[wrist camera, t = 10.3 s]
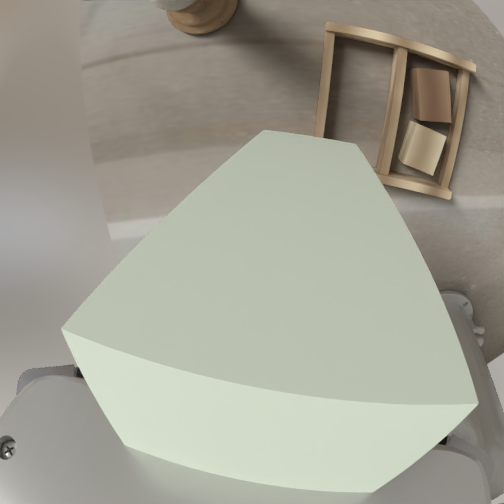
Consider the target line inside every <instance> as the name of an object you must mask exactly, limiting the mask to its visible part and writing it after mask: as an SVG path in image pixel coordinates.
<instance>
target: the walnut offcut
mask: <svg viewBox="0 0 504 504" xmlns="http://www.w3.org/2000/svg"><path fill="white" fill-rule="evenodd" d="M409 71H410V81H411V92H412V107H413V118H415V119H417V120H420V121H435V122H449V123H451V98H450V83H449V71H442V70H433V69H423V68H413V69H409Z"/></svg>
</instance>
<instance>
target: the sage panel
mask: <svg viewBox="0 0 504 504" xmlns="http://www.w3.org/2000/svg"><path fill="white" fill-rule="evenodd" d="M61 330H62V332H63V335H64V337H65V339H66V342H67V344H68V346H69V348H70V350H71V352H72V354H73V357H74V359H75V361H76V363H77V365H78V367H79V369H80V371H81V373H82V375H83V377H84V378H85V380H86V382H87V384H88V386H89V388H90V390H91V391H92V393H93V395H94V397H95V398H96V400H97V402H98V404H99V405H100V407H101V409H102V410H103V412H104V414H105V415H106V417H107V419H108V420H109V422H110V424H111V425H112V427H113V428H114V430H115V431H116V433H117V434H118V436H119V437H120V439H121V440H122V442H123V443H124V445H126V446H129V447H131V448H134V449H136V450H139V451H142V452H144V453H147V454H150V455H153V456H156V457H158V458H161V459H164V460H167V461H170V462H174V463H177V464H180V465H183V466H187V467H190V468H194V469H197V470H201V471H205V472H209V473H213V474H217V475H221V476H225V477H230V478H234V479H239V480H244V481H249V482H255V483H261V484H267V485H273V486H280V487H287V488H296V489H305V490H317V491H332V492H374V491H376V490H377V489H379V488H380V487H382V486H383V485H385V484H386V483H388V482H389V481H390V480H392V479H393V478H395V477H396V476H397V475H399V474H400V473H402V472H403V471H404V470H406V469H407V468H408V467H410V466H411V465H412V464H413V463H415V462H416V461H417V460H418V459H420V458H421V457H422V456H423V455H425V454H426V453H427V452H428V451H429V450H431V449H432V448H433V447H434V446H435V445H436V444H438V443H439V442H440V441H441V440H442V439H443V438H444V437H446V436H447V435H448V434H449V433H450V432H451V431H452V430H453V429H454V428H455V427H456V426H457V425H458V424H459V423H460V422H461V421H462V420H463V419H464V418H465V417H466V416H467V415H468V414H469V413H470V412H471V411H472V410H473V409H474V408H475V407H476V406H477V405H478V404H479V402H478V399H477V395H476V391H475V388H474V385H473V381H472V378H471V375H470V372H469V369H468V366H467V363H466V360H465V357H464V354H463V351H462V348H461V345H460V342H459V340H458V337H457V334H456V332H455V329H454V327H453V324H452V322H451V319H450V317H449V314H448V312H447V309H446V307H445V304H444V302H443V300H442V297H441V295H440V293H439V291H438V288H437V286H436V284H435V282H434V280H433V277H432V275H431V273H430V271H429V269H428V267H427V265H426V263H425V261H424V259H423V257H422V255H421V253H420V251H419V249H418V247H417V245H416V243H415V241H414V239H413V237H412V235H411V233H410V232H409V230H408V228H407V226H406V224H405V222H404V221H403V219H402V217H401V215H400V213H399V212H398V210H397V208H396V206H395V205H394V203H393V201H392V200H391V198H390V196H389V195H388V193H387V191H386V190H385V188H384V186H383V185H382V183H381V181H380V180H379V178H378V177H377V175H376V173H375V172H374V170H373V169H372V167H371V166H370V164H369V163H368V161H367V160H366V158H365V157H364V155H363V154H362V152H361V151H360V149H359V148H358V146H357V145H356V144H353V143H348V142H343V141H337V140H331V139H326V138H319V137H313V136H307V135H300V134H293V133H285V132H277V131H269V130H263V131H262V132H261V133H259V134H258V135H257V136H256V137H254V138H253V139H252V140H251V141H250V142H248V143H247V144H246V145H245V146H244V147H242V148H241V149H240V150H239V151H238V152H237V153H235V154H234V155H233V156H232V157H231V158H230V159H228V160H227V161H226V162H225V163H224V164H223V165H221V166H220V167H219V168H218V169H217V170H216V171H215V172H214V173H212V174H211V175H210V176H209V177H208V178H207V179H206V180H205V181H203V182H202V183H201V184H200V185H199V186H198V187H197V188H196V189H195V190H194V191H192V192H191V193H190V194H189V195H188V196H187V197H186V198H185V199H184V200H183V201H182V202H181V203H180V204H178V205H177V206H176V207H175V208H174V209H173V210H172V211H171V212H170V213H169V214H168V215H167V216H166V217H165V218H164V219H163V220H162V221H161V222H160V223H159V224H158V225H157V226H156V227H155V228H154V229H153V230H152V231H151V232H150V233H149V234H148V235H147V236H146V237H145V238H144V239H143V240H142V241H141V242H140V243H139V244H138V245H137V246H136V247H135V248H134V249H133V250H132V251H131V252H130V253H129V254H128V255H127V256H126V257H125V258H124V259H123V260H122V261H121V262H120V263H119V264H118V265H117V266H116V267H115V269H114V270H113V271H112V272H111V273H110V274H109V275H108V276H107V277H106V278H105V279H104V280H103V281H102V283H101V284H100V285H99V286H98V287H97V288H96V289H95V290H94V291H93V292H92V293H91V295H90V296H89V297H88V298H87V299H86V300H85V301H84V302H83V304H82V305H81V306H80V307H79V308H78V309H77V311H76V312H75V313H74V314H73V315H72V316H71V318H70V319H69V320H68V321H67V322H66V323H65V325H64V326H63V327H62V328H61Z"/></svg>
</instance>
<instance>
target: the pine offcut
mask: <svg viewBox="0 0 504 504" xmlns="http://www.w3.org/2000/svg"><path fill="white" fill-rule="evenodd" d="M445 140H446V136H444V135H442V134H440V133H438V132H436V131H433V130H431V129H429V128H427V127H425V126H422V125H420V124H418V123H415V122H413V121H409V124H408V128H407V131H406V134H405V137H404V140H403V143H402V146H401V149H400V152H399V155H398V159H399V160H400V161H401V162H402V163H403V164H405V165H408V166H410V167H413V168H415V169H418V170H420V171H423V172H425V173H427V174H430V175H432V176H433V174H434V171H435V168H436V166H437V163H438V160H439V157H440V155H441V152H442V149H443V146H444V143H445Z"/></svg>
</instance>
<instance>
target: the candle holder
mask: <svg viewBox="0 0 504 504" xmlns="http://www.w3.org/2000/svg"><path fill="white" fill-rule="evenodd" d="M84 1H92V0H84ZM151 2H152V3H153V4H154V5H155V6H156V7H158V8H160V9H162V10H166V12H167V16H168V18H169V21H170V22H171V23H172V25H173V26H174V27H175V28H177V29H178V30H180V31H182V32H185V33H188V34H195V35H198V34H207V33H210V32H213V31H215V30H217V29H219V28H221V27H222V26H223V25H225V24H226V23H227V22H228V21H229V20H230V19H231V17H232V16H233V14H234V12H235V10H236V7H237V3H238V0H151Z"/></svg>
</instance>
